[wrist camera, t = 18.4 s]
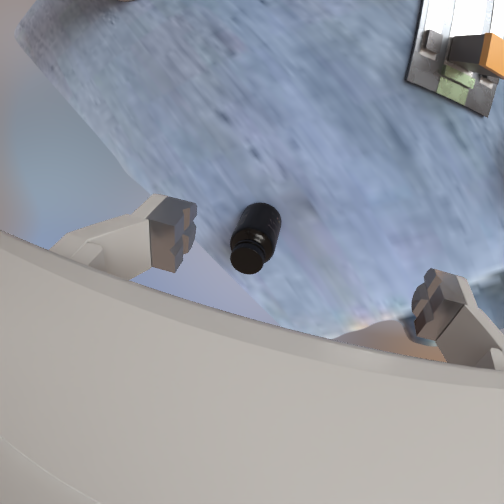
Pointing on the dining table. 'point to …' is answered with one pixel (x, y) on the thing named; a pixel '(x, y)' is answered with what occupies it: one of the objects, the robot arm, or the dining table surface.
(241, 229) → the supplement bottle
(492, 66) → the breaker handle
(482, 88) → the breaker panel
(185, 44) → the dining table surface
